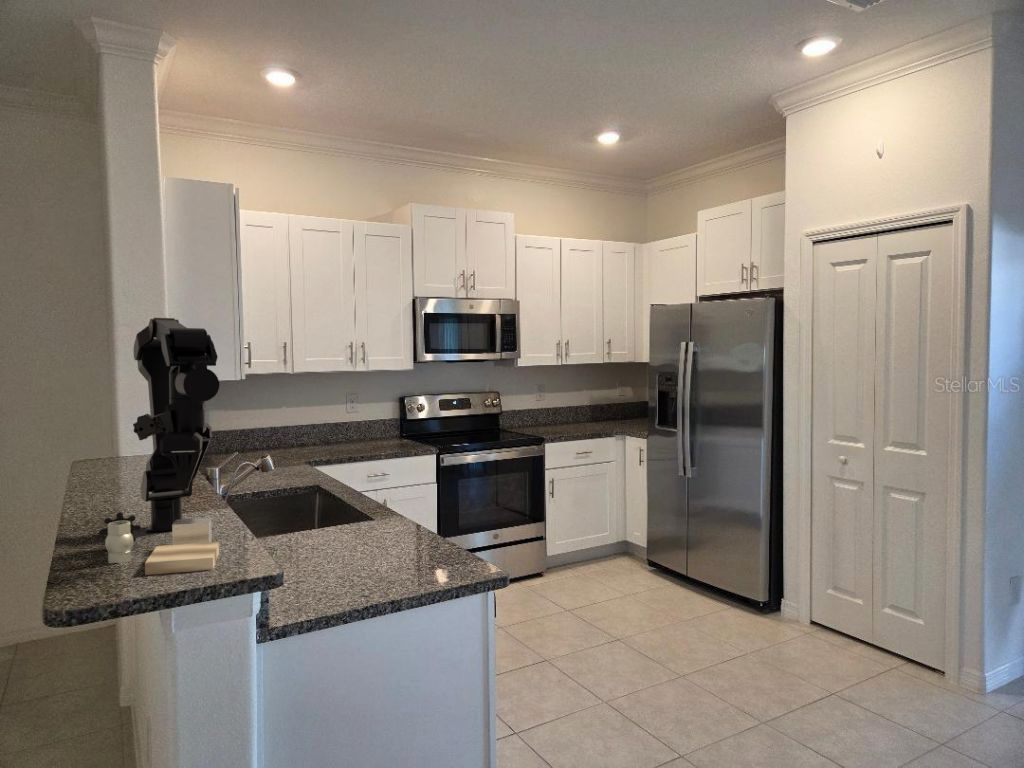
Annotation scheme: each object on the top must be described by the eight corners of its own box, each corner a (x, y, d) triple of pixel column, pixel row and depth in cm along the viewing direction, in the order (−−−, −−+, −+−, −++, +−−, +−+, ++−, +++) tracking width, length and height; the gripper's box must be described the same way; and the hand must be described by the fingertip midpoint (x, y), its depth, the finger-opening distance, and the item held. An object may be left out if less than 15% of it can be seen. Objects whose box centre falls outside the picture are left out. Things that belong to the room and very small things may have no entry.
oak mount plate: (157, 557, 120) (156, 546, 120) (219, 552, 123) (219, 541, 123) (145, 575, 111) (144, 562, 110) (212, 569, 114) (212, 557, 113)
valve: (141, 561, 118) (140, 544, 129) (141, 523, 118) (140, 509, 128) (96, 567, 115) (99, 549, 125) (96, 527, 115) (98, 513, 125)
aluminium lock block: (176, 546, 127) (175, 519, 127) (211, 544, 129) (211, 517, 129) (172, 552, 124) (172, 524, 123) (209, 549, 125) (208, 522, 125)
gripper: (147, 394, 131) (149, 476, 132) (124, 402, 113) (126, 497, 114) (211, 394, 134) (212, 473, 135) (199, 401, 116) (200, 493, 117)
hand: (188, 483), depth 125 cm, fingers open, 9 cm apart
